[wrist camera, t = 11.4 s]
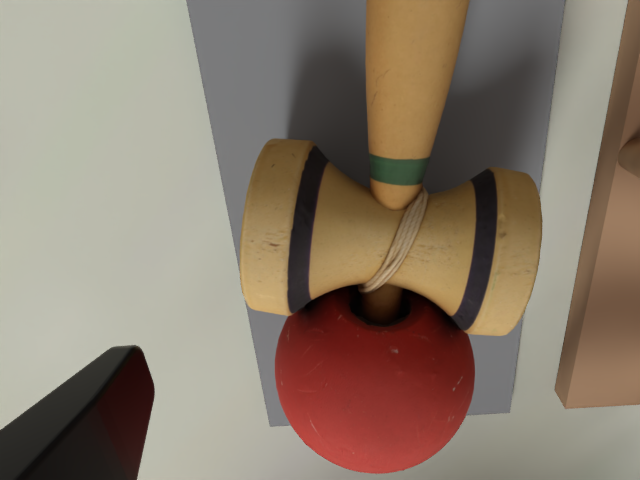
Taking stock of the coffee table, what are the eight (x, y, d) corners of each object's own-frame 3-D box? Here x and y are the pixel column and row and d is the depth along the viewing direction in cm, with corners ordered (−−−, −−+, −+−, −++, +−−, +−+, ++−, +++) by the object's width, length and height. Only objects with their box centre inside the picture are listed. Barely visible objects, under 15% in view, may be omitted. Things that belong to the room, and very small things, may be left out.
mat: (505, 401, 20) (509, 412, 20) (271, 415, 21) (269, 426, 20) (600, -355, 10) (615, -373, 10) (135, -294, 11) (126, -308, 10)
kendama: (230, -227, 12) (237, 393, 18) (235, -517, 6) (244, 556, 12) (520, -180, 13) (434, 378, 19) (758, -374, 7) (526, 516, 13)
